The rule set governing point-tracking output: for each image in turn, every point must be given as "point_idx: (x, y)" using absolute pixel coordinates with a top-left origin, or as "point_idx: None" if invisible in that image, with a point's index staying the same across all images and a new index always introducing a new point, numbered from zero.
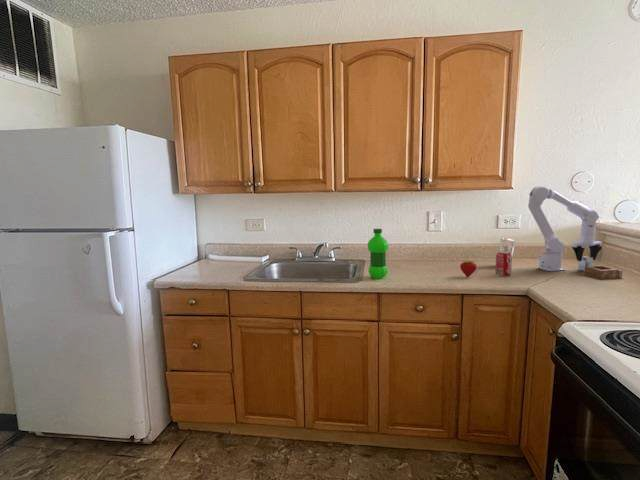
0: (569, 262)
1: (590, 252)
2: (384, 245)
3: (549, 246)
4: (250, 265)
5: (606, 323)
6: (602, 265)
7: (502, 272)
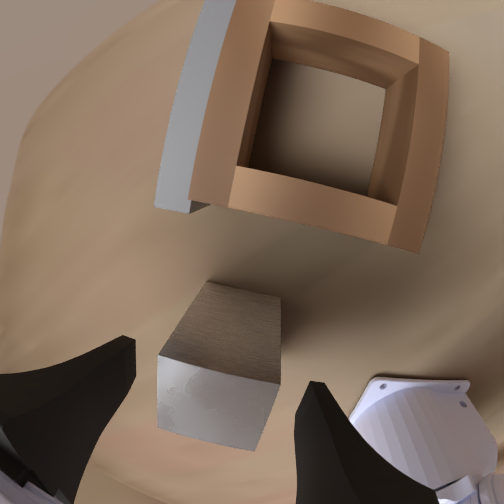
0: (140, 449)
1: (99, 434)
2: None
3: None
4: None
5: None
6: (192, 184)
7: None
